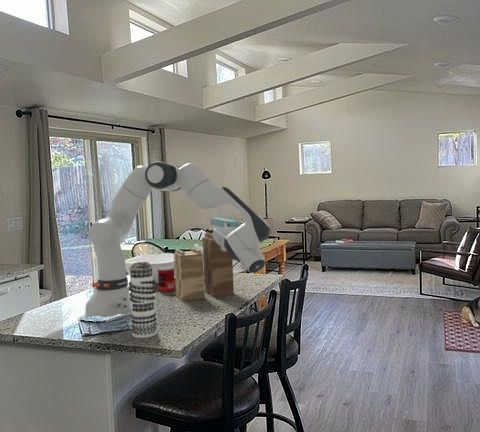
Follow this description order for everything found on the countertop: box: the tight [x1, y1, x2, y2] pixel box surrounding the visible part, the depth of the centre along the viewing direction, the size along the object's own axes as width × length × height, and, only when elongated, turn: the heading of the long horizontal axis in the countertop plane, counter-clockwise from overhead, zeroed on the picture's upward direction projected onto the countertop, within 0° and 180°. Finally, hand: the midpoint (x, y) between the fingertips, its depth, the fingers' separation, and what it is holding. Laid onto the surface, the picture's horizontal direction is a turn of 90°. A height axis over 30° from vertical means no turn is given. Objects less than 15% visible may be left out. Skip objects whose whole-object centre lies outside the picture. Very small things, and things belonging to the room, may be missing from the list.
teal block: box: [210, 217, 240, 228], centre depth 221 cm, size 26×4×3 cm, turn 22°
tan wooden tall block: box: [173, 247, 206, 302], centre depth 230 cm, size 12×10×22 cm
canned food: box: [158, 266, 176, 293], centre depth 246 cm, size 8×8×11 cm
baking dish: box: [125, 252, 175, 285], centre depth 269 cm, size 34×28×13 cm
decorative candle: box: [128, 262, 158, 339], centre depth 176 cm, size 9×9×25 cm
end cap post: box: [201, 232, 235, 298], centre depth 235 cm, size 12×10×28 cm
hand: (231, 223), depth 213 cm, fingers closed on teal block, 3 cm apart
